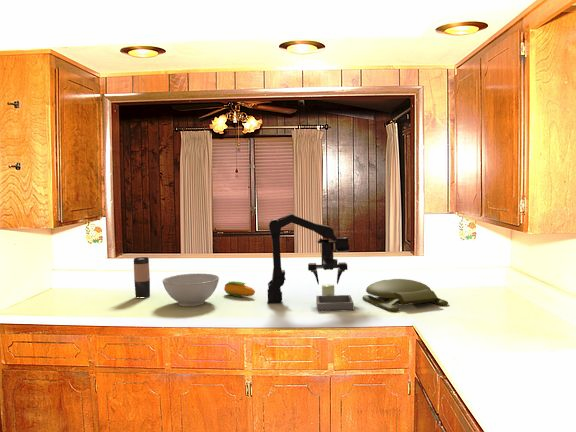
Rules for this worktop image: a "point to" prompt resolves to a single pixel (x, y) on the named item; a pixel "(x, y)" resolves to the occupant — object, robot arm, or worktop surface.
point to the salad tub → (327, 290)
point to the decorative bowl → (191, 288)
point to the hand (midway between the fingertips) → (327, 284)
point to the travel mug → (142, 277)
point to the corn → (238, 289)
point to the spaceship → (401, 293)
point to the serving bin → (335, 303)
